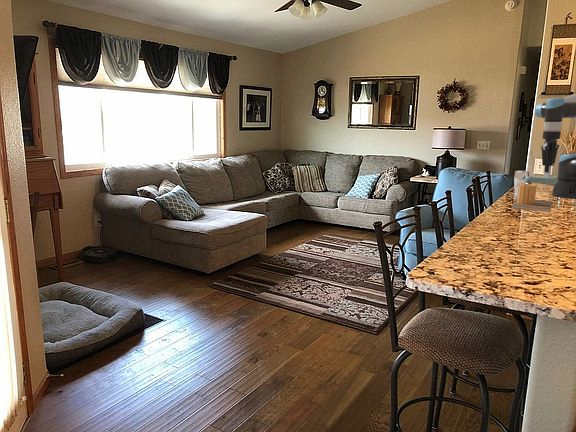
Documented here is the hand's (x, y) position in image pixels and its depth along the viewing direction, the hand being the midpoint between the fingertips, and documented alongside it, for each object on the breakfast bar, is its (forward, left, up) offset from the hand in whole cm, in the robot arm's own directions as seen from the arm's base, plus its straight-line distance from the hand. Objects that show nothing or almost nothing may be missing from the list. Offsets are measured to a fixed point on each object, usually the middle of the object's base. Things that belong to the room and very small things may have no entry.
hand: (546, 178), depth 226 cm
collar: (+13, -1, -11) cm, 17 cm away
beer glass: (-1, -14, -13) cm, 19 cm away
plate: (+14, +3, -13) cm, 19 cm away
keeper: (+3, -1, -2) cm, 3 cm away
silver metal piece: (+9, -4, -11) cm, 15 cm away
